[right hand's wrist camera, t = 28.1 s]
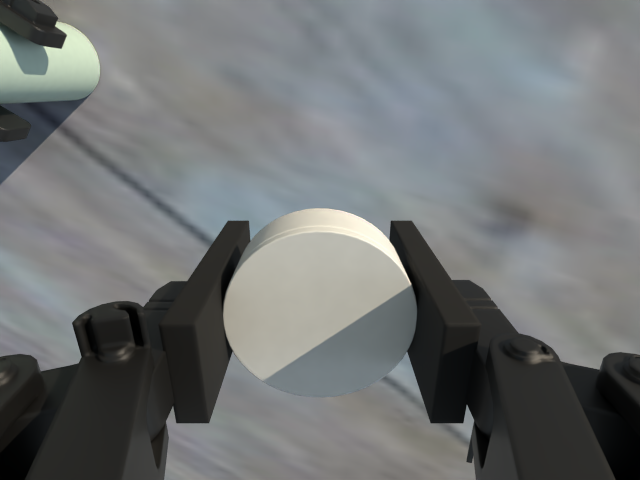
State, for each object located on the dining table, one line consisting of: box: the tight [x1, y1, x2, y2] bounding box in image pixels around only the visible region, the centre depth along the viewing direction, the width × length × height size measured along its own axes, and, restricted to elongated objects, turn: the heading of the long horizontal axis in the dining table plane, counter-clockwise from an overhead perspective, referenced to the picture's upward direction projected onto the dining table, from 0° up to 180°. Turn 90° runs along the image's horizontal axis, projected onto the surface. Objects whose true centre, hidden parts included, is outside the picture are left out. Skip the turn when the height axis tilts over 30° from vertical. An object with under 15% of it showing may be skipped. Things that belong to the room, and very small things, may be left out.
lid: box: [223, 208, 417, 397], centre depth 11 cm, size 5×5×2 cm
